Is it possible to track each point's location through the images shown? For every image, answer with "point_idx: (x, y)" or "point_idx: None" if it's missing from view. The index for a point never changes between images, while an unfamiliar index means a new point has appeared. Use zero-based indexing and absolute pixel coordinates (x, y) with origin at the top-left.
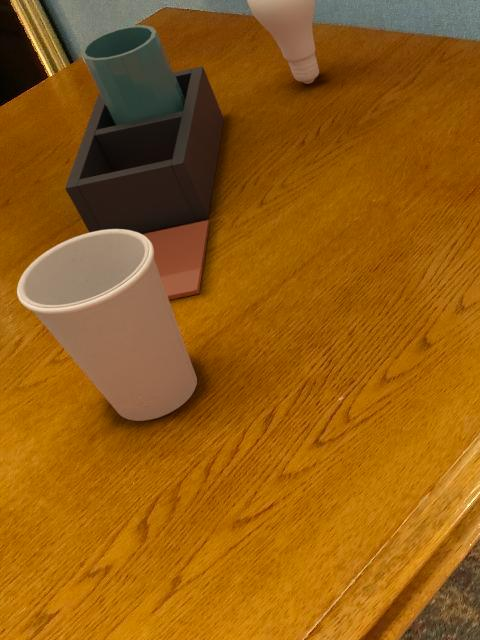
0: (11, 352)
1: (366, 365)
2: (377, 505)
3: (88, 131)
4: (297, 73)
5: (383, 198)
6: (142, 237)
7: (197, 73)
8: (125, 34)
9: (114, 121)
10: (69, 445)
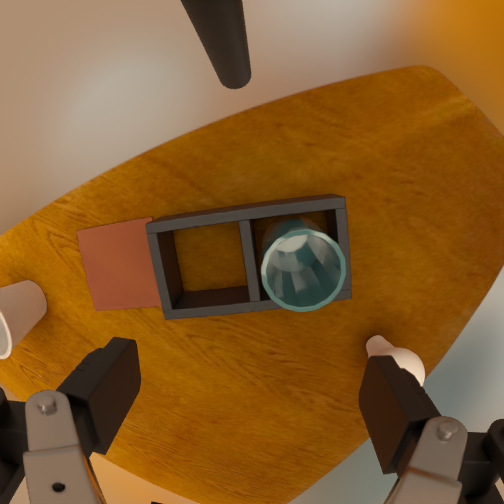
0: (57, 200)
1: (56, 386)
2: (7, 381)
3: (248, 212)
4: (368, 344)
5: (183, 403)
6: (6, 354)
7: (337, 297)
8: (339, 265)
9: (274, 227)
10: (6, 264)
